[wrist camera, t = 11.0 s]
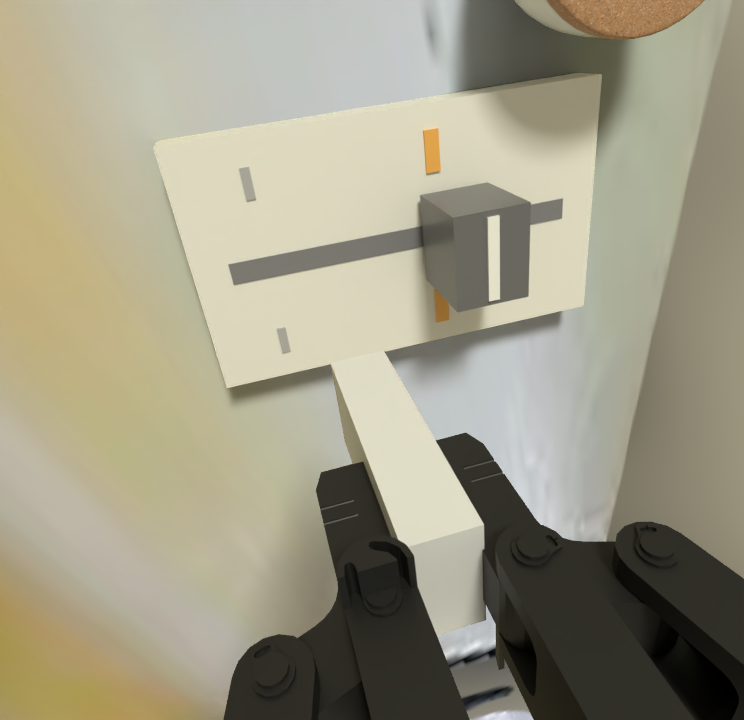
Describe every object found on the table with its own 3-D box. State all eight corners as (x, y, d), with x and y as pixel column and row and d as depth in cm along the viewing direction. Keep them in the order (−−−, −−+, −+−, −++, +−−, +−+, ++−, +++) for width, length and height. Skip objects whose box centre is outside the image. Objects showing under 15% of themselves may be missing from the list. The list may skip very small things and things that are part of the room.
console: (226, 368, 36) (226, 389, 33) (157, 140, 29) (152, 147, 26) (563, 292, 39) (584, 306, 37) (576, 72, 32) (603, 74, 30)
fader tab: (426, 279, 33) (458, 313, 28) (419, 195, 30) (454, 218, 26) (489, 266, 33) (529, 297, 29) (487, 182, 31) (532, 202, 27)
